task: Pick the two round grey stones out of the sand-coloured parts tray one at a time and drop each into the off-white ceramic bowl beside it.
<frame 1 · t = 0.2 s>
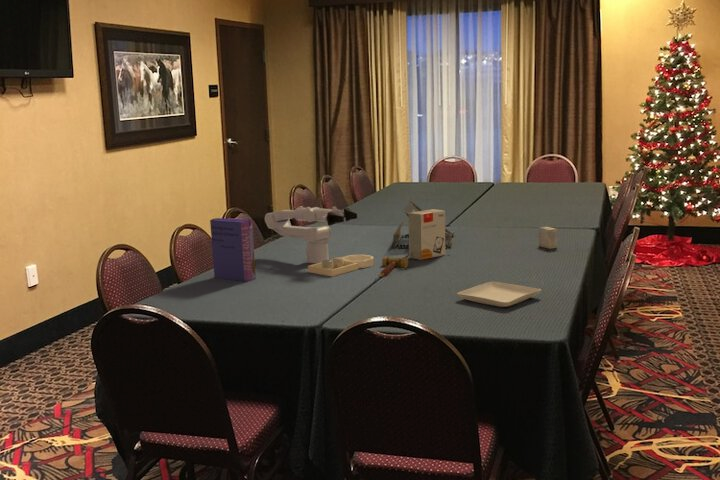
hand: (349, 217, 321), 21 cm above the table, tool horizontal, fingers open, 7 cm apart
hard drive box: (427, 257, 342), on the table
gavel: (389, 273, 317), on the table
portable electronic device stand: (423, 243, 375), on the table
bowl: (357, 266, 329), on the table
medicine box: (547, 247, 352), on the table
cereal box: (235, 278, 316), on the table
salad plate: (499, 300, 270), on the table
stone b: (338, 269, 322), point 1 cm above the table, touching tray
tray: (333, 271, 320), on the table
stone a: (328, 271, 318), point 1 cm above the table, touching tray
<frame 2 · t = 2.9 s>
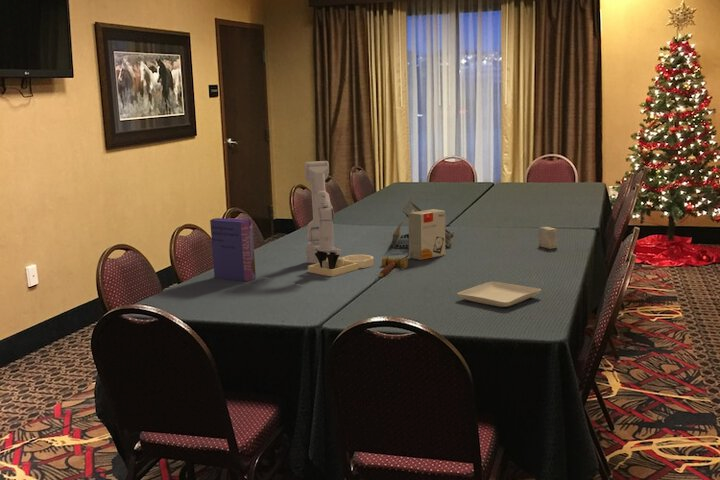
hand: (327, 270, 318), 1 cm above the table, tool pointing down, fingers closed on stone a, 4 cm apart
stone a: (328, 271, 318), point 1 cm above the table, touching gripper, tray
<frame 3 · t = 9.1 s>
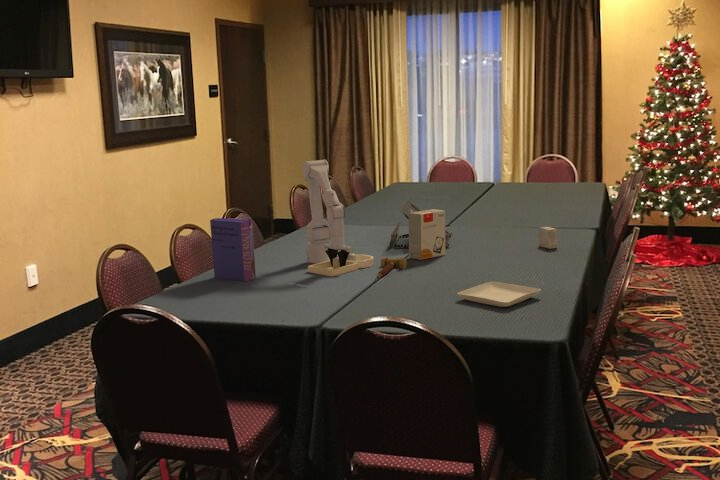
hand: (338, 267, 322), 1 cm above the table, tool pointing down, fingers closed on stone b, 4 cm apart
stone b: (338, 269, 322), point 1 cm above the table, touching gripper, tray
stone a: (351, 264, 329), point 1 cm above the table, touching bowl
when the fingers open (4 cm above the table, at t = 12.0 s): stone b drops 3 cm, resting on bowl.
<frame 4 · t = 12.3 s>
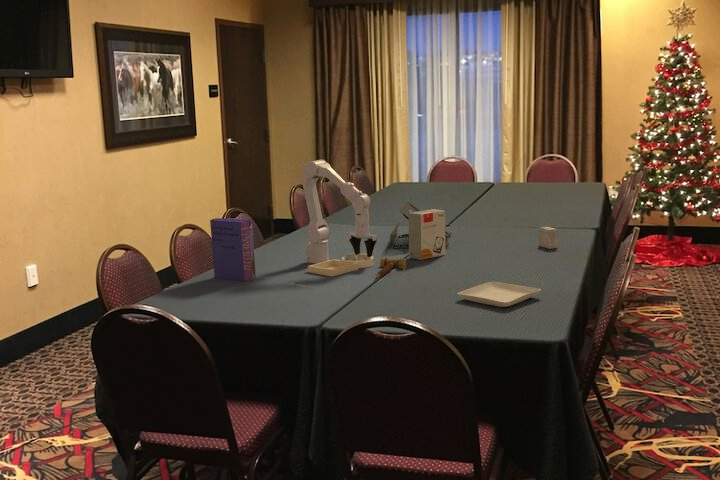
hand: (363, 255, 328), 4 cm above the table, tool pointing down, fingers open, 6 cm apart
stone b: (363, 264, 328), point 1 cm above the table, touching bowl
stone a: (351, 264, 329), point 1 cm above the table, touching bowl, gripper
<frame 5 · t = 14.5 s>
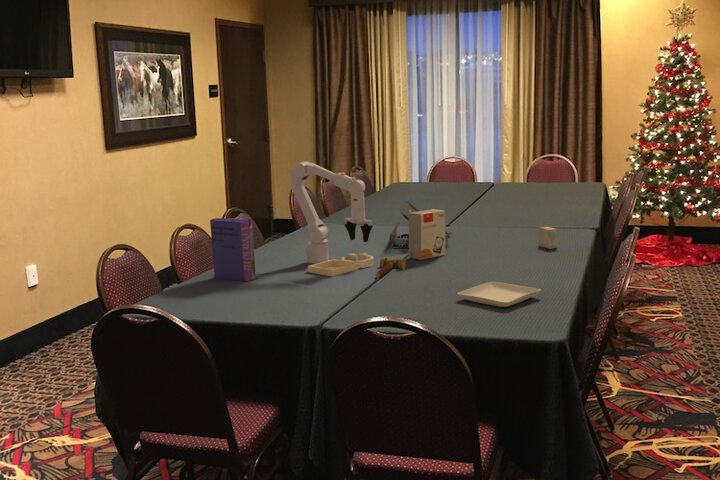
hand: (359, 240, 332), 10 cm above the table, tool pointing down, fingers open, 7 cm apart
stone a: (351, 264, 329), point 1 cm above the table, touching bowl
at the end: stone a 2.7 cm from the bowl (horizontally); stone b 2.3 cm from the bowl (horizontally); stone a point 0.6 cm above the table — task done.
